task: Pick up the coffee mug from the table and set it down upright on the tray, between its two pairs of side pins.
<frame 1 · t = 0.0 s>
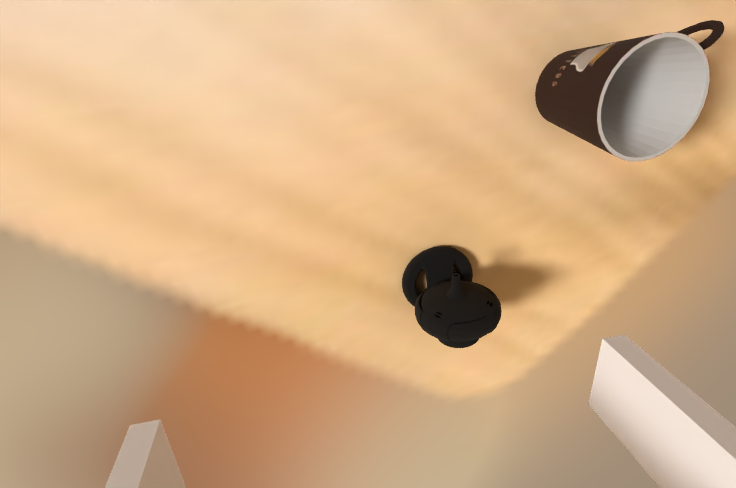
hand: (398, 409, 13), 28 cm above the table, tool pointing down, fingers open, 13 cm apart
coffee mug: (581, 83, 39), on the table
webcam: (434, 276, 45), on the table
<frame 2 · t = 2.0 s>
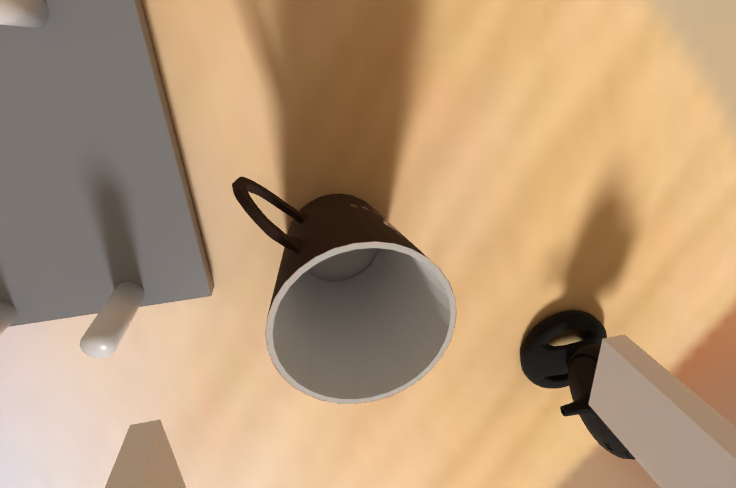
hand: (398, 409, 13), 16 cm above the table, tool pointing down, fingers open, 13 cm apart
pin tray: (25, 172, 23), on the table
coffee mug: (330, 218, 27), on the table
webcam: (557, 344, 36), on the table
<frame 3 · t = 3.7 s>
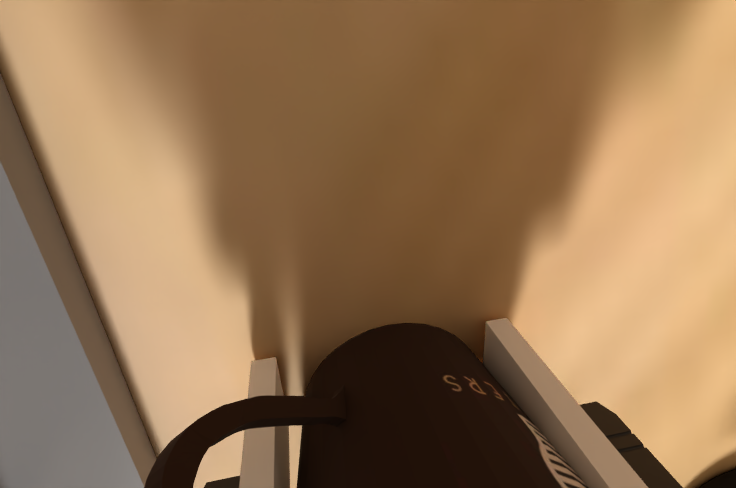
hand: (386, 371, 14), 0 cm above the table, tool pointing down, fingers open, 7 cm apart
coffee mug: (384, 362, 15), on the table, touching gripper
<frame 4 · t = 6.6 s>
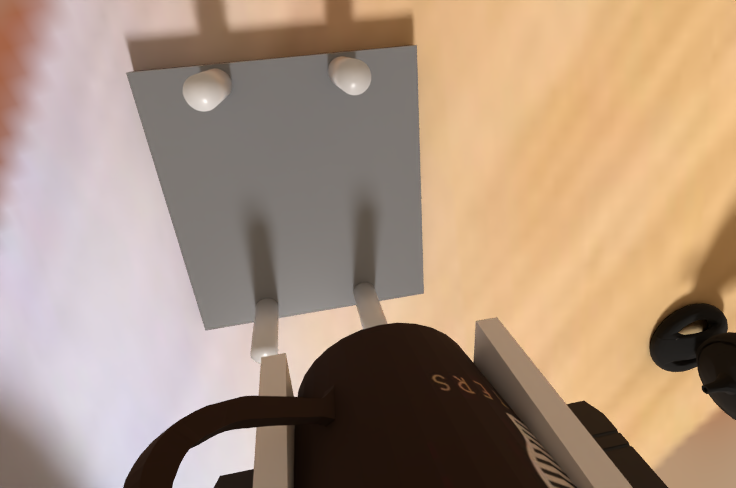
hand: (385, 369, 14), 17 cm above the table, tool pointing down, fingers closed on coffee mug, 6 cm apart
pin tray: (299, 196, 28), on the table
coffee mug: (376, 362, 15), point 16 cm above the table, touching gripper
webcam: (681, 333, 41), on the table
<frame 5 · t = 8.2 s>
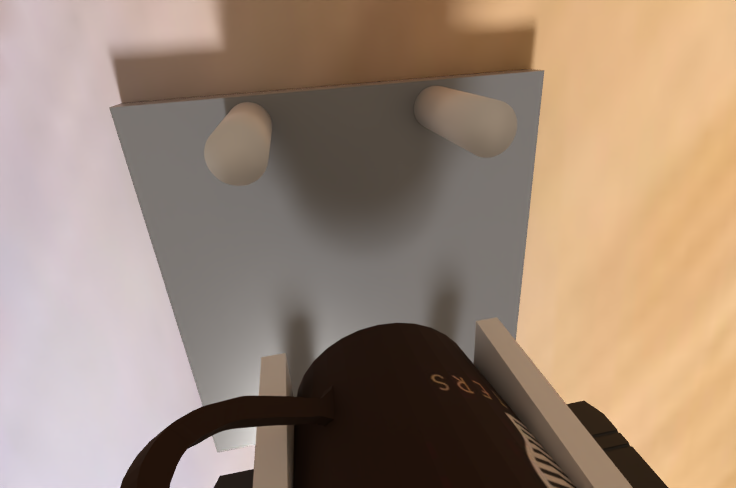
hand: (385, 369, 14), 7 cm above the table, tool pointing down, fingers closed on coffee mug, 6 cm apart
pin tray: (355, 274, 20), on the table
coffee mug: (375, 362, 15), point 6 cm above the table, touching gripper
when the fingers open (3 cm above the table, at t = 9.4 s): coffee mug drops 1 cm, resting on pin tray.
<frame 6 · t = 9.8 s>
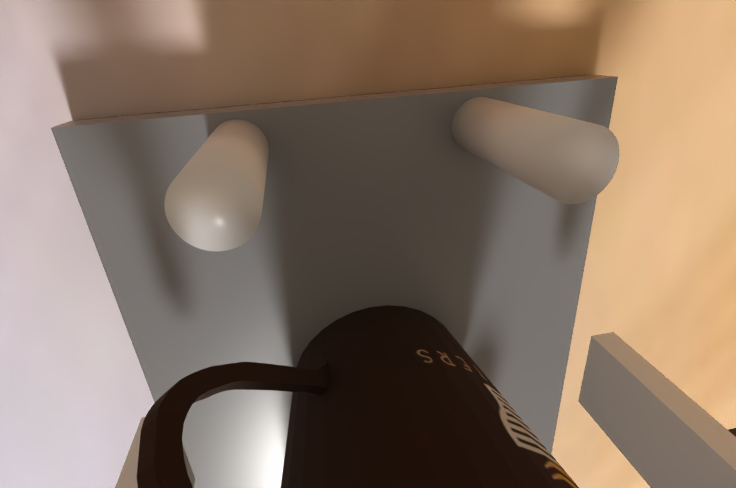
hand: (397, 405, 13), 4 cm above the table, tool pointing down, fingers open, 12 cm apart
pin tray: (371, 323, 17), on the table
coffee mug: (368, 343, 16), point 1 cm above the table, touching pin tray
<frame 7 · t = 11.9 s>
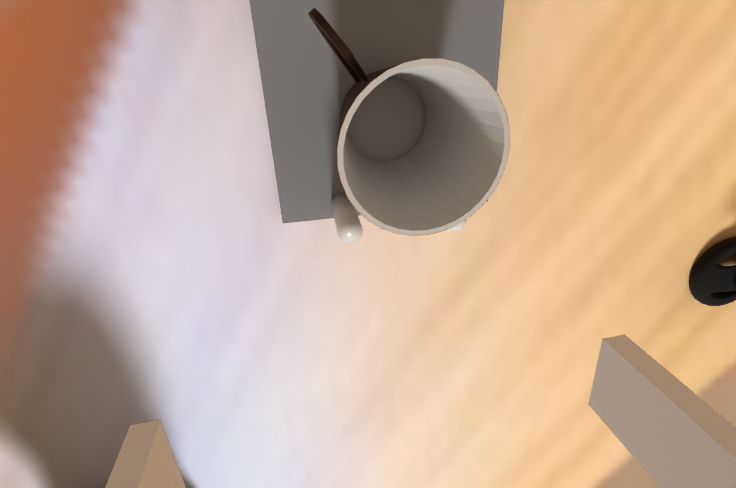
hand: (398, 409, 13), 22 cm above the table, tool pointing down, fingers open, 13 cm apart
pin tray: (381, 93, 30), on the table
coffee mug: (380, 97, 29), point 1 cm above the table, touching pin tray
webcam: (719, 268, 43), on the table
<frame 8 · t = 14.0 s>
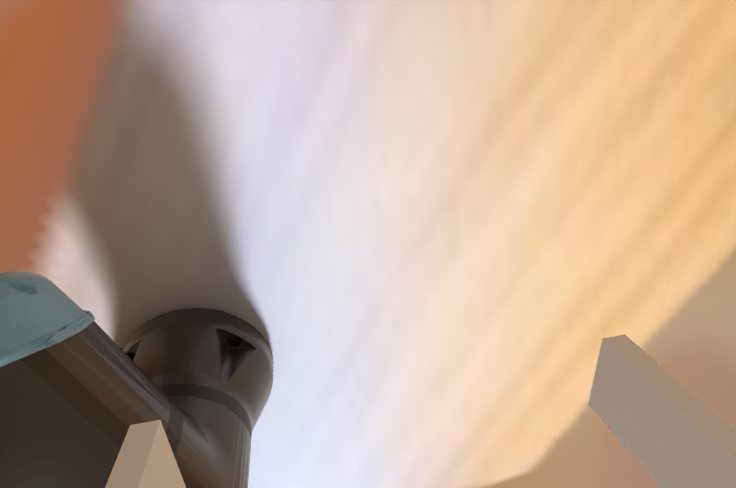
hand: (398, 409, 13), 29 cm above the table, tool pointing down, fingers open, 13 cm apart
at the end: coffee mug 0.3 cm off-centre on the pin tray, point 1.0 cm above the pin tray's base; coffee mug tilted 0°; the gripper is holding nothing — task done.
